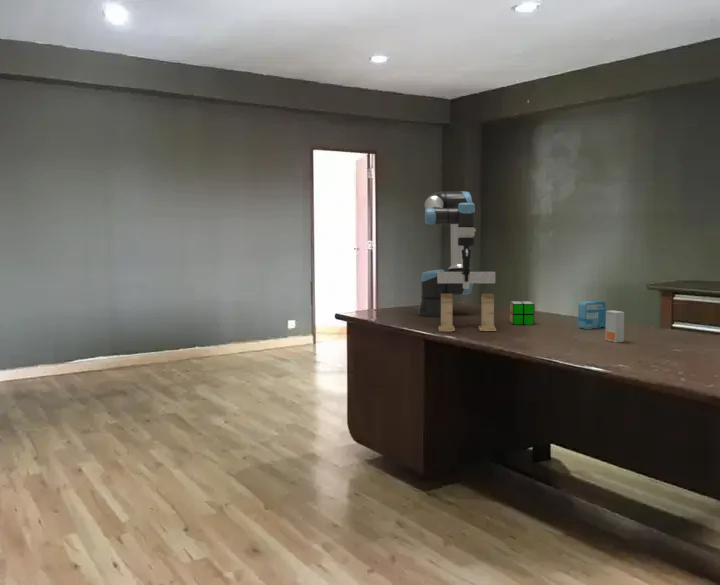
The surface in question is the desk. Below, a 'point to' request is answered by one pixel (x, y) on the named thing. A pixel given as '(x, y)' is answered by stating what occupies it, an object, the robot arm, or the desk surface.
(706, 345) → the desk surface
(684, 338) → the desk surface
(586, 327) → the data package
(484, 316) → the post
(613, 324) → the skincare box
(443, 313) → the post
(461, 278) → the rail
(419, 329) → the desk surface
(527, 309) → the puzzle cube
